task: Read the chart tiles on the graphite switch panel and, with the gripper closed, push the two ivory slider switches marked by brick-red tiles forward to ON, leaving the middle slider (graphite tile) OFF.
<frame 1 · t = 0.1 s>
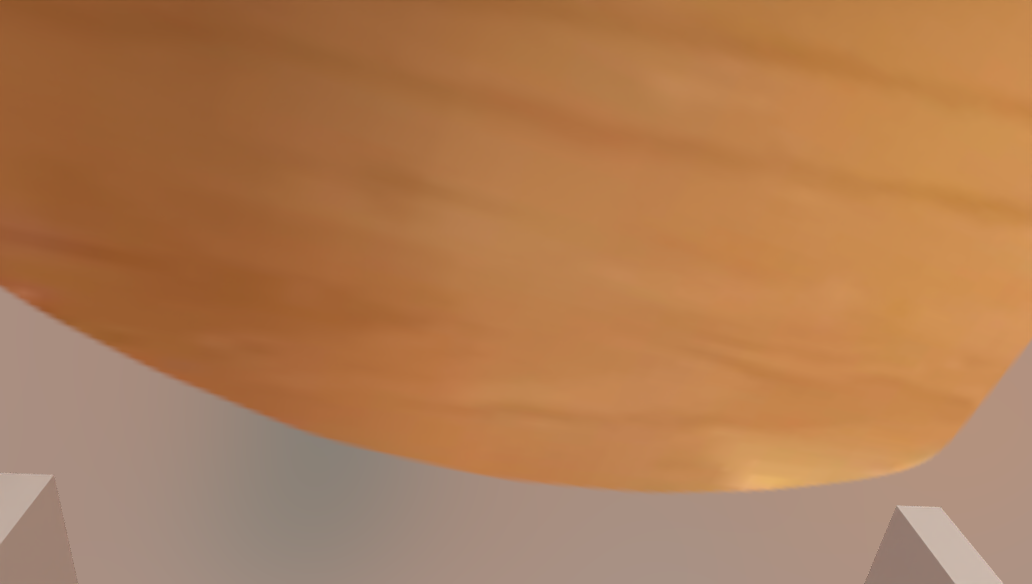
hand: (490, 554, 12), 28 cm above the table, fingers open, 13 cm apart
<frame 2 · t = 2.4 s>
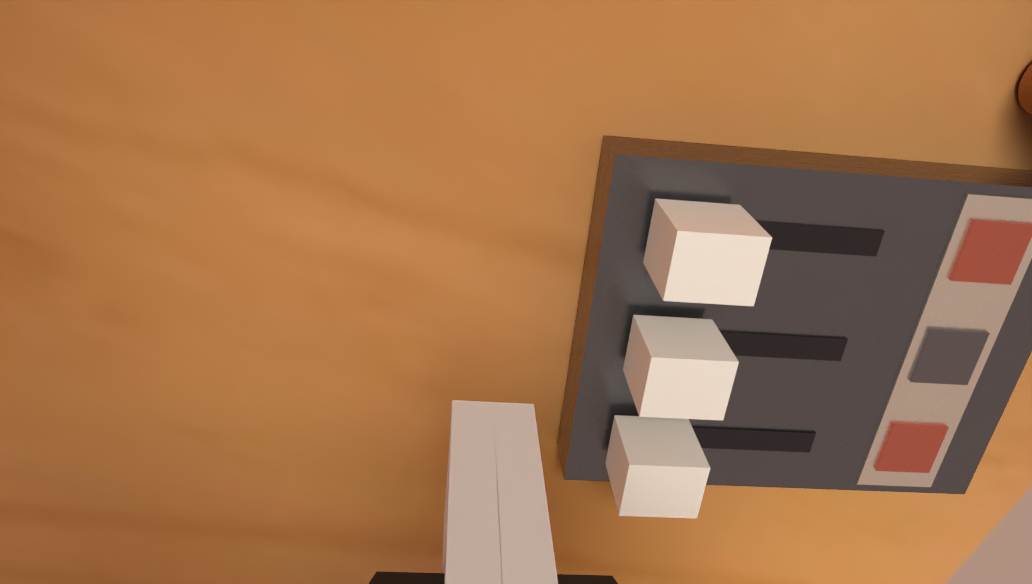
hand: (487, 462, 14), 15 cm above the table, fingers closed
switch a: (703, 250, 24), point 4 cm above the table, slide at 0.0 cm
switch b: (677, 366, 26), point 4 cm above the table, slide at 0.0 cm
switch c: (654, 465, 28), point 4 cm above the table, slide at 0.0 cm
switch panel: (788, 317, 31), on the table
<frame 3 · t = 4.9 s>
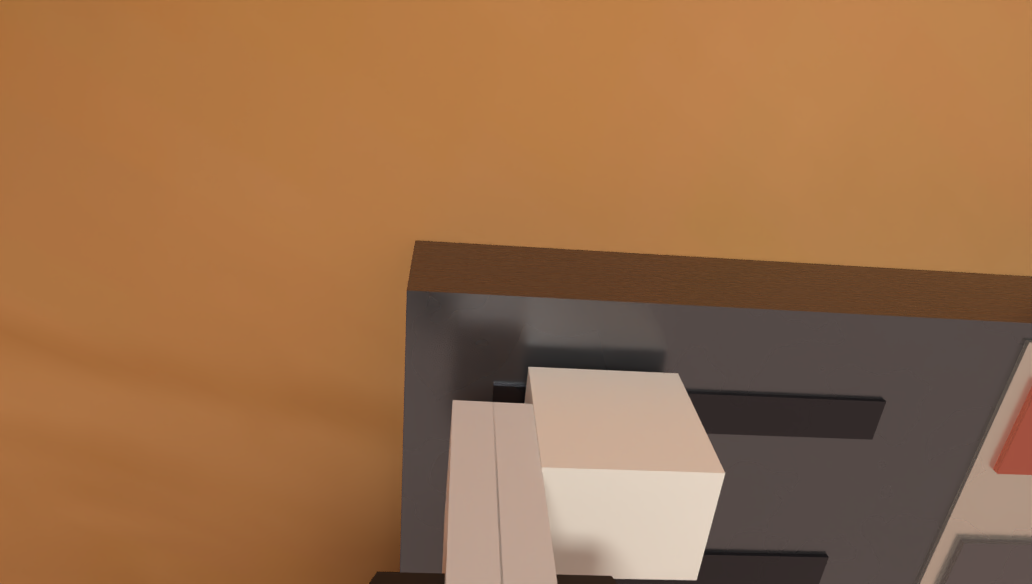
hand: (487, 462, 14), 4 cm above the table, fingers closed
switch a: (608, 468, 14), point 4 cm above the table, slide at 0.9 cm, touching gripper
switch panel: (740, 497, 20), on the table
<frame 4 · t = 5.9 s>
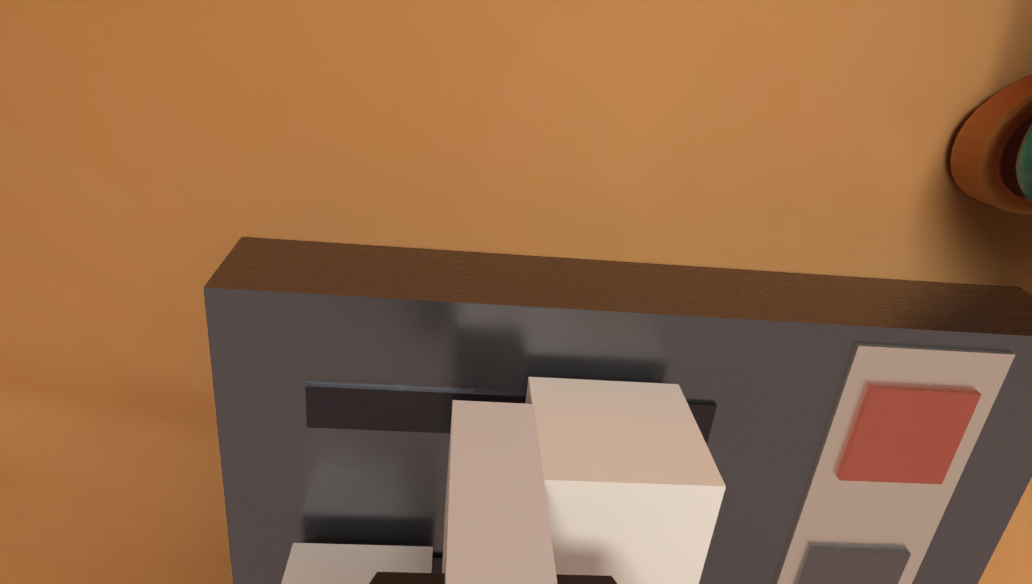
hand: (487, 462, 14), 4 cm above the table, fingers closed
switch a: (608, 479, 14), point 4 cm above the table, slide at 4.7 cm, touching gripper
switch panel: (604, 502, 20), on the table
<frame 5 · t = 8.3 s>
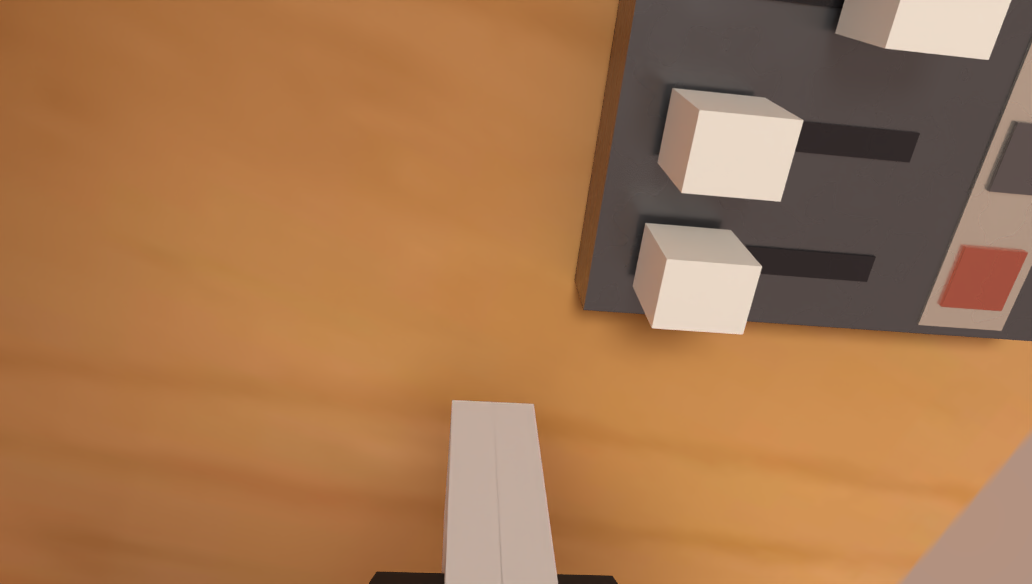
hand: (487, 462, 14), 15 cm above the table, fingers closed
switch a: (922, 1, 21), point 4 cm above the table, slide at 4.7 cm
switch b: (724, 143, 22), point 4 cm above the table, slide at 0.0 cm
switch c: (692, 277, 24), point 4 cm above the table, slide at 0.0 cm
switch panel: (845, 125, 27), on the table
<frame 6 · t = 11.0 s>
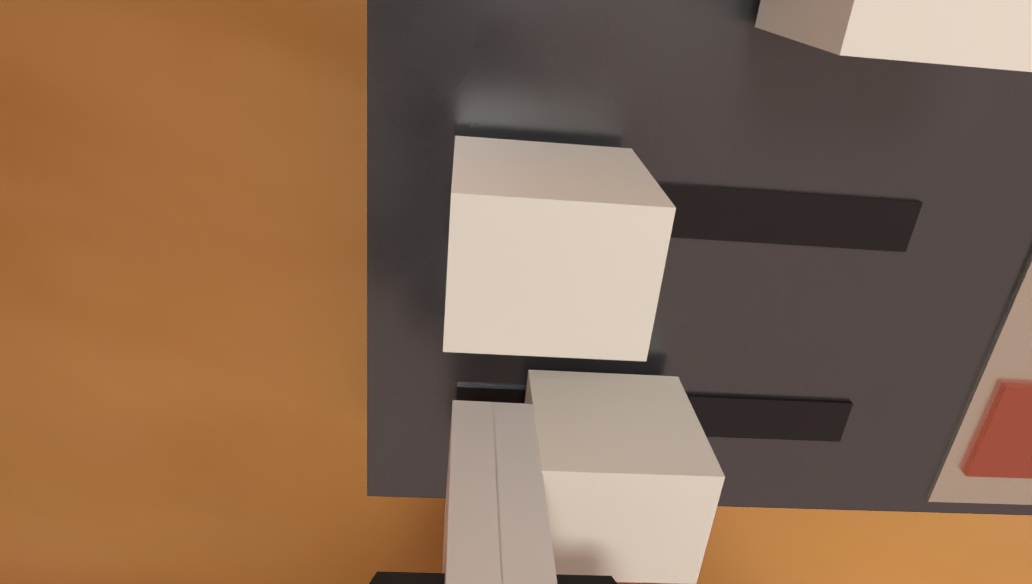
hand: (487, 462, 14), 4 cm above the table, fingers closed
switch b: (545, 241, 12), point 4 cm above the table, slide at 0.0 cm
switch c: (608, 471, 14), point 4 cm above the table, slide at 1.7 cm, touching gripper
switch panel: (797, 181, 16), on the table
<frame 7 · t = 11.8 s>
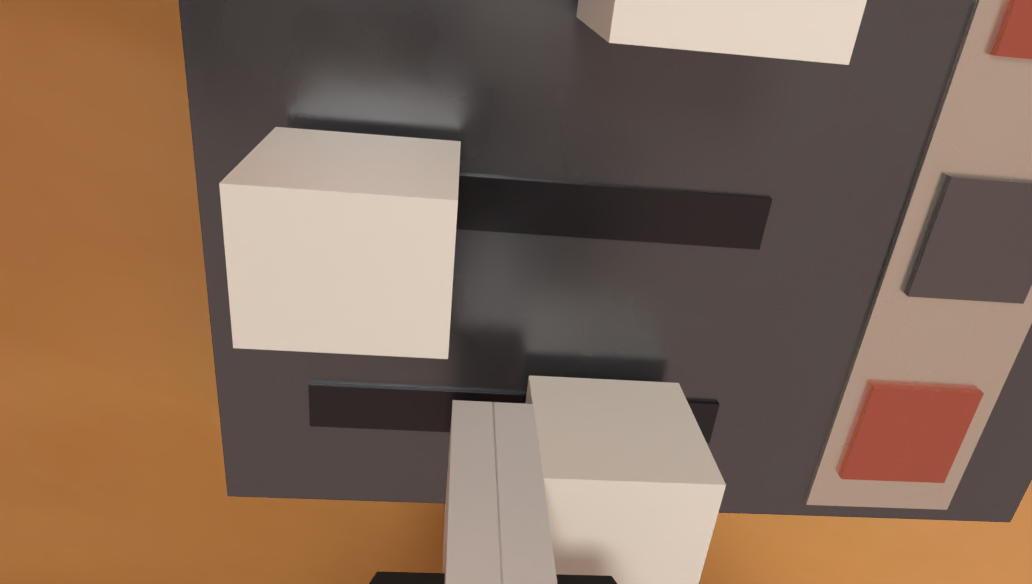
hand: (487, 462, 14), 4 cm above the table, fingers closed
switch b: (356, 235, 11), point 4 cm above the table, slide at 0.0 cm
switch c: (608, 478, 14), point 4 cm above the table, slide at 4.6 cm, touching gripper
switch panel: (668, 177, 16), on the table
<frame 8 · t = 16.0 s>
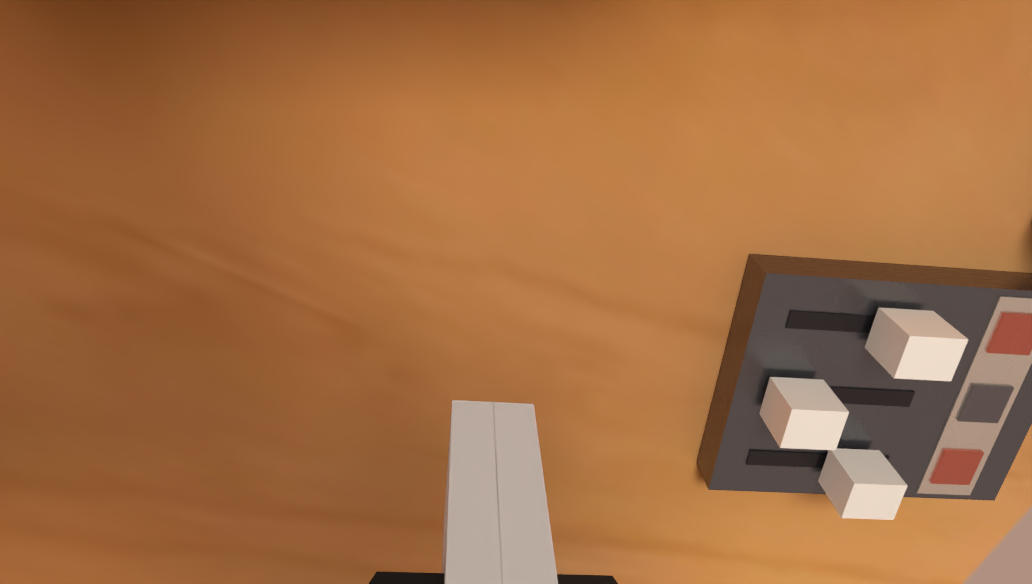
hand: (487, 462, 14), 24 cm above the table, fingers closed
switch a: (914, 343, 37), point 4 cm above the table, slide at 4.7 cm
switch b: (802, 412, 39), point 4 cm above the table, slide at 0.0 cm
switch c: (860, 483, 41), point 4 cm above the table, slide at 4.7 cm
switch panel: (869, 373, 43), on the table
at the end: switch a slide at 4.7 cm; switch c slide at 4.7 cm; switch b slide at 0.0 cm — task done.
